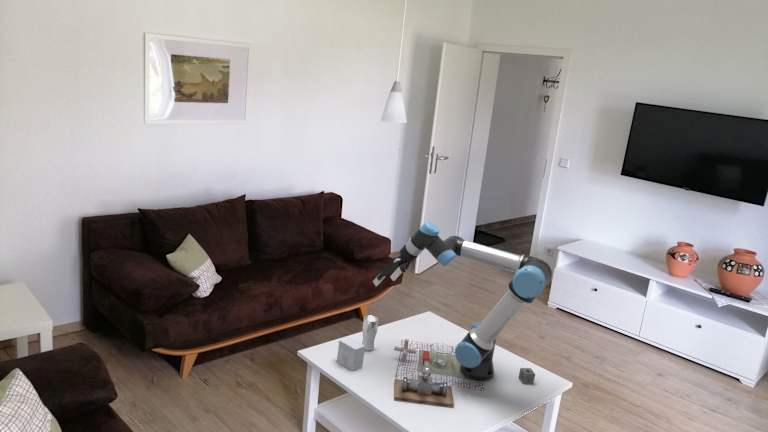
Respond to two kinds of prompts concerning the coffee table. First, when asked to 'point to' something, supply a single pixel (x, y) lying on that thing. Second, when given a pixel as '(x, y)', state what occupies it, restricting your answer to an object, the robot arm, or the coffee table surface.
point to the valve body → (424, 386)
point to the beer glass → (369, 332)
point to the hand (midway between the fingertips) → (383, 281)
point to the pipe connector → (405, 349)
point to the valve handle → (426, 364)
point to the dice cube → (526, 375)
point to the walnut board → (422, 396)
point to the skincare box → (350, 353)
